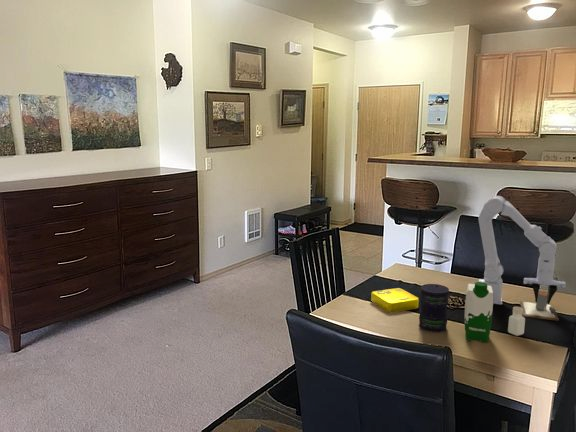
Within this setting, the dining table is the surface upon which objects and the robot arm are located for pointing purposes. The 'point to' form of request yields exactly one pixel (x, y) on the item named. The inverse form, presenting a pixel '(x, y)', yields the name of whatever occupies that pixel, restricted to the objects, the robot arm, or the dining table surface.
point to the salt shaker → (516, 322)
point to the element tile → (394, 300)
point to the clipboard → (538, 311)
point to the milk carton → (478, 311)
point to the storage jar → (433, 308)
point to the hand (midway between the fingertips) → (542, 302)
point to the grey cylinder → (542, 300)
